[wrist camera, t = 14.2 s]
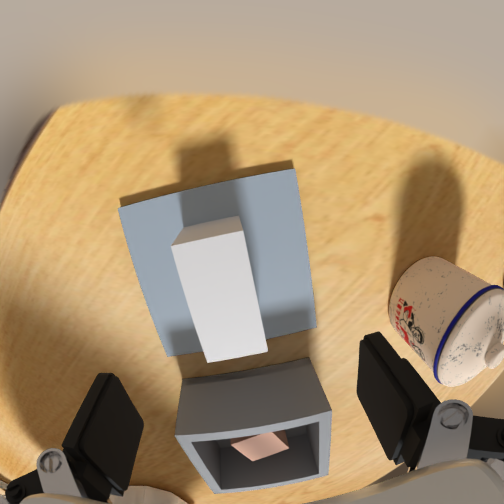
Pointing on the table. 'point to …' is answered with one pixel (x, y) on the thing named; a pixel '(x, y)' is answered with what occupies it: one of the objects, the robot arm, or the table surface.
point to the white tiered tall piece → (146, 496)
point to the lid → (223, 265)
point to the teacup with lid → (449, 319)
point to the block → (261, 444)
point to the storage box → (255, 425)
